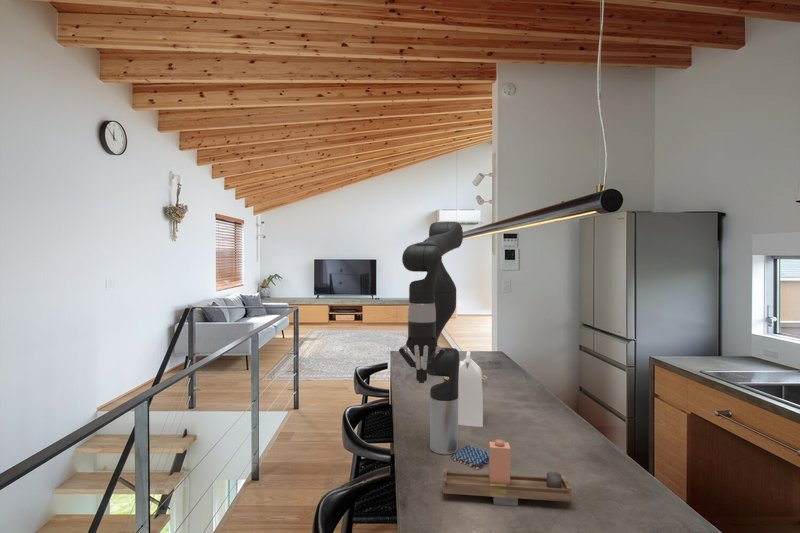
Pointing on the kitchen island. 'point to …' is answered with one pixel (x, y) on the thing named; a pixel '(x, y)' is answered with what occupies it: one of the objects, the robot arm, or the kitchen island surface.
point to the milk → (470, 393)
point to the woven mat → (471, 457)
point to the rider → (499, 462)
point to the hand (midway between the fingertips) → (421, 382)
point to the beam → (508, 487)
